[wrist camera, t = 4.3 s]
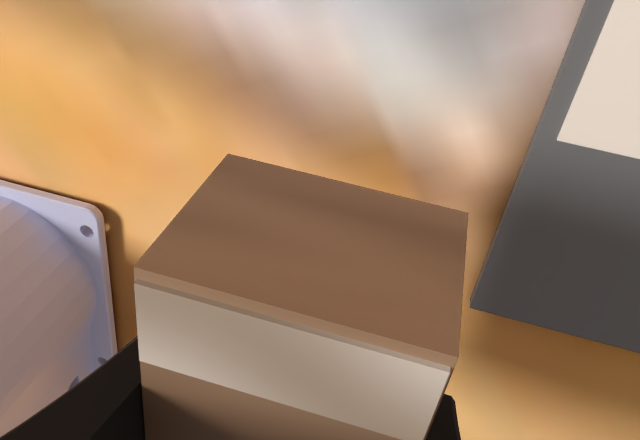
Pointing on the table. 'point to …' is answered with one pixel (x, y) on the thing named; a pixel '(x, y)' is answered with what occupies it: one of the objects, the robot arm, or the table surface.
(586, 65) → the mat
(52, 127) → the table surface
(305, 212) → the banded brown carton
